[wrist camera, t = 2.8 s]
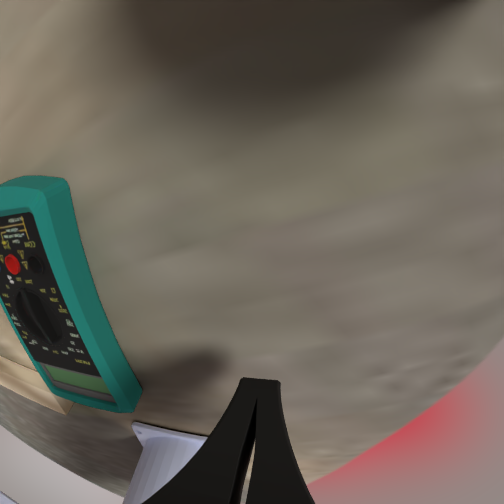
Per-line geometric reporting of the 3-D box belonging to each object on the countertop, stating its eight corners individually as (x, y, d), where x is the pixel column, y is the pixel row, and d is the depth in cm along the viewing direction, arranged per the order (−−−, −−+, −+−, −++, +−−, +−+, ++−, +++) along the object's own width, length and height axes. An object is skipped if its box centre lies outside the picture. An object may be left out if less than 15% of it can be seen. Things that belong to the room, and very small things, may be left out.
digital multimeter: (72, 162, 12) (28, 181, 10) (148, 389, 19) (133, 423, 16) (-10, 185, 13) (-45, 203, 11) (68, 372, 20) (50, 399, 17)
